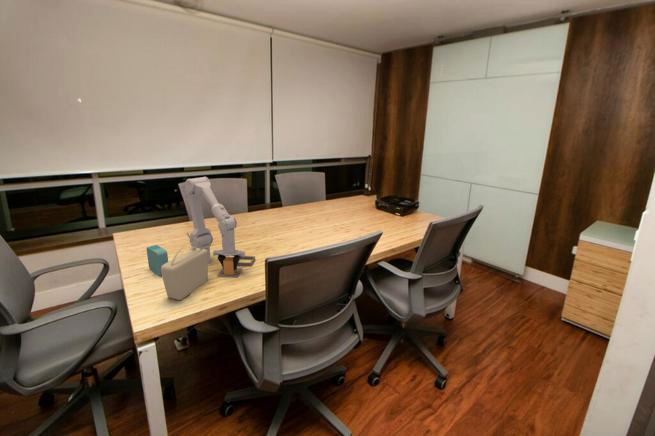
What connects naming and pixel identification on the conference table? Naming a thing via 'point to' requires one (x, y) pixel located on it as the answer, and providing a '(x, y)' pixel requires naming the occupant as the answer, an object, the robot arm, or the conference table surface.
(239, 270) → the stud plate
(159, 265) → the data package
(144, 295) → the conference table surface
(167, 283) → the radio
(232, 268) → the orange brown block
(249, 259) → the tray
